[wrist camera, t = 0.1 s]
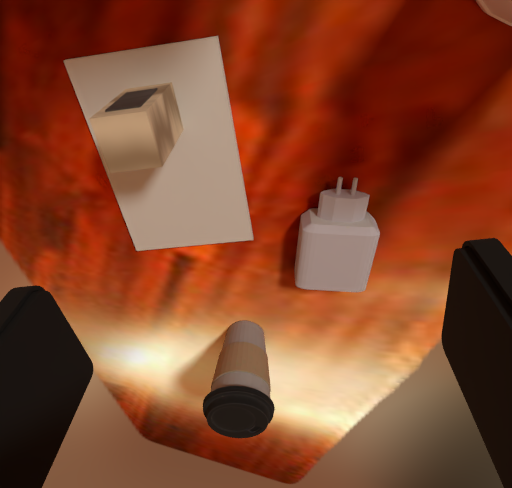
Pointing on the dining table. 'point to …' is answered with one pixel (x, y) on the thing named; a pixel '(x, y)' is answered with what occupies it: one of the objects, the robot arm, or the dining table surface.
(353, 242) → the charger
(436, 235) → the dining table surface
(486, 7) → the bottle
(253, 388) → the coffee cup
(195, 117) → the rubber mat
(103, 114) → the maple block
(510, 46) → the dining table surface
